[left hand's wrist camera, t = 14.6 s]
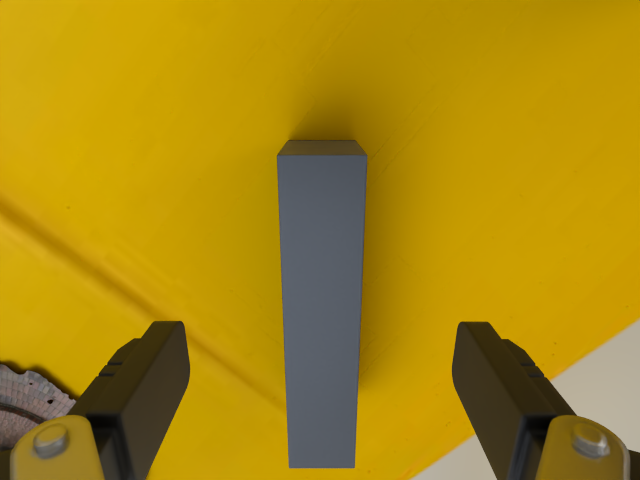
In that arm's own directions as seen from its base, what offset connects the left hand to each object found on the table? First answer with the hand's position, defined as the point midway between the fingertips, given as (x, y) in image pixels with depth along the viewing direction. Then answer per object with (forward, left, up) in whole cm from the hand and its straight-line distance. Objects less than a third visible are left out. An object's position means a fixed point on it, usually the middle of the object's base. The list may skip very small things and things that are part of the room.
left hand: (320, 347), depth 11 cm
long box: (+6, +8, -25) cm, 27 cm away
